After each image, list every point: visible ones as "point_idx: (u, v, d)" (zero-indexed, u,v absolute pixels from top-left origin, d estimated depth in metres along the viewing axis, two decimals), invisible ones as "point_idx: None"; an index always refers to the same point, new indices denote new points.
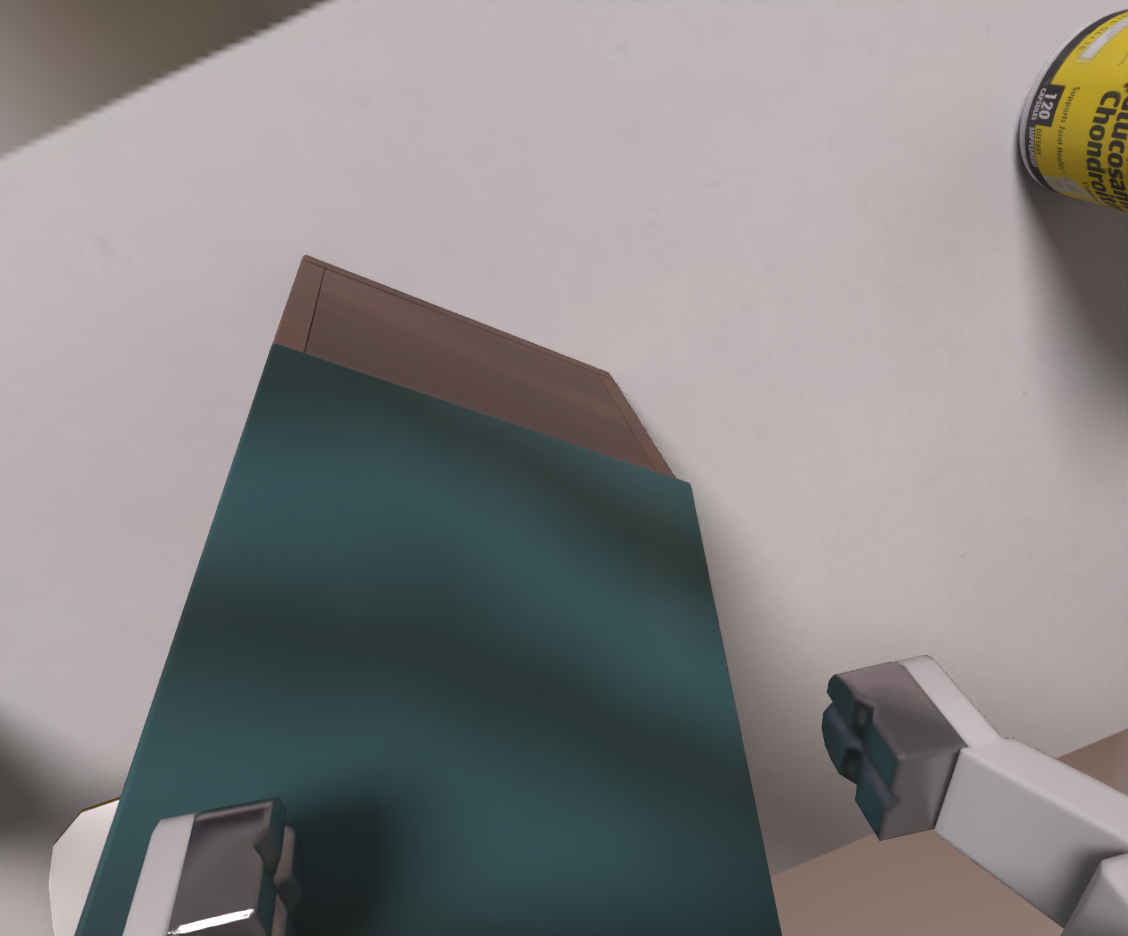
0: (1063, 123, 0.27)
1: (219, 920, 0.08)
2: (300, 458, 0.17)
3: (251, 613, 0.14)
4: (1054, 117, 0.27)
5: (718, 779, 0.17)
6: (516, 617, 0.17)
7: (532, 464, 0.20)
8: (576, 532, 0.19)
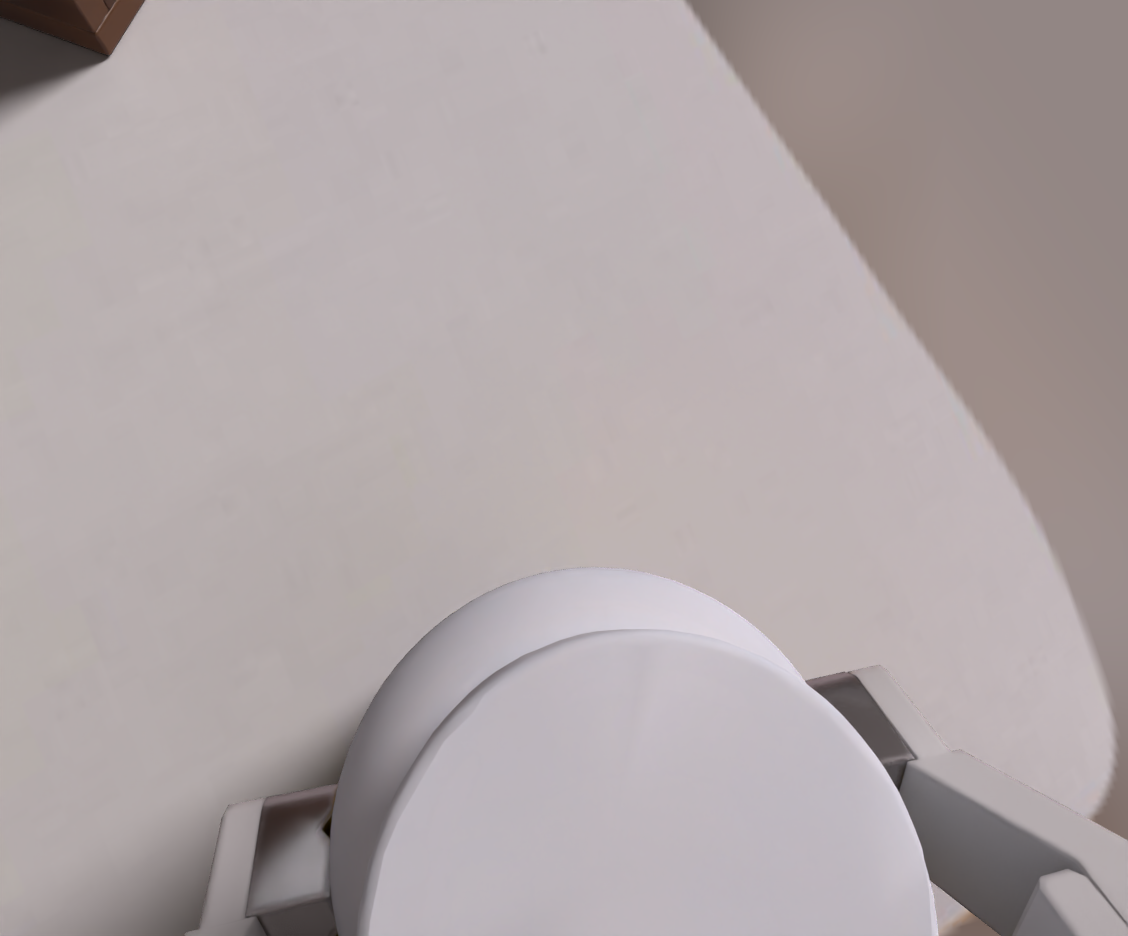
0: None
1: (295, 902, 0.09)
2: None
3: None
4: None
5: None
6: None
7: None
8: None
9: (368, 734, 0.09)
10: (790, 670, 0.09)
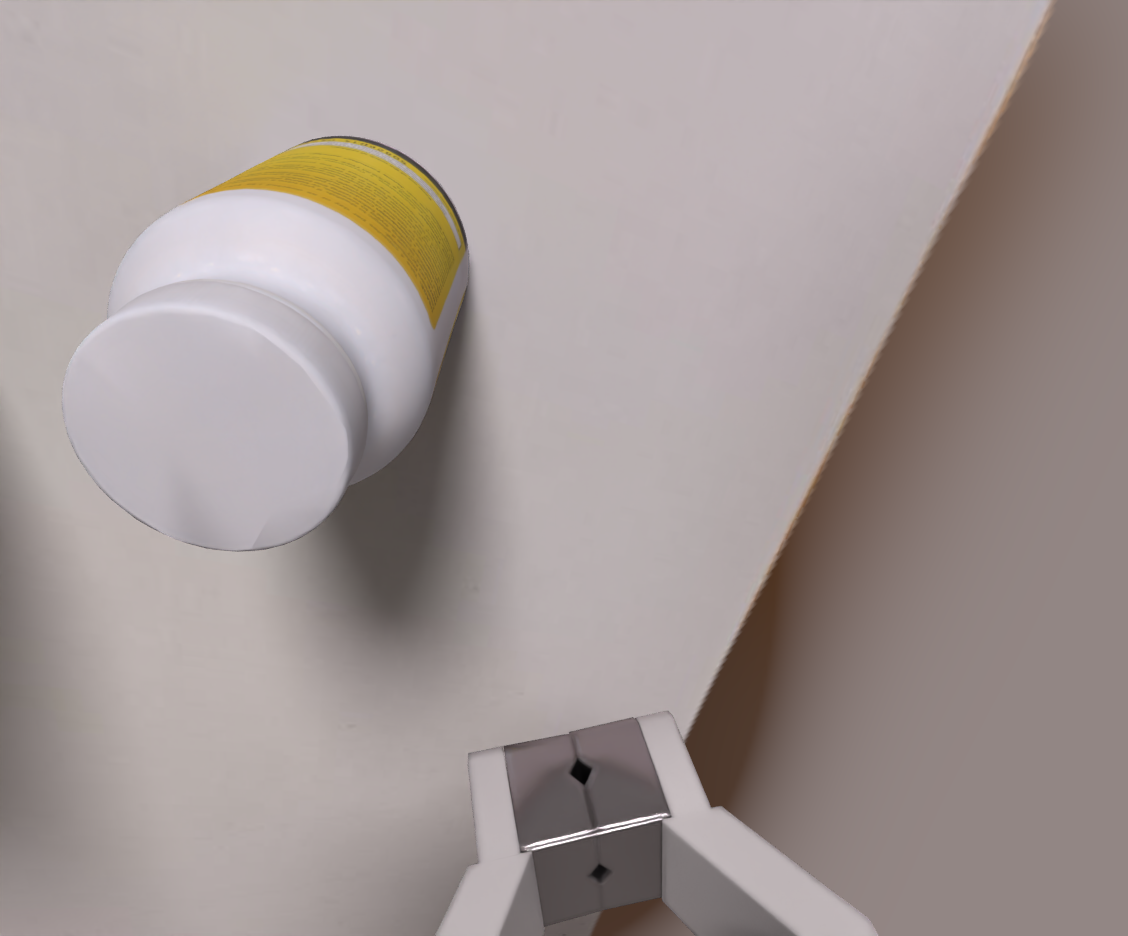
0: None
1: (564, 839, 0.09)
2: None
3: None
4: None
5: None
6: None
7: None
8: None
9: None
10: (241, 213, 0.13)
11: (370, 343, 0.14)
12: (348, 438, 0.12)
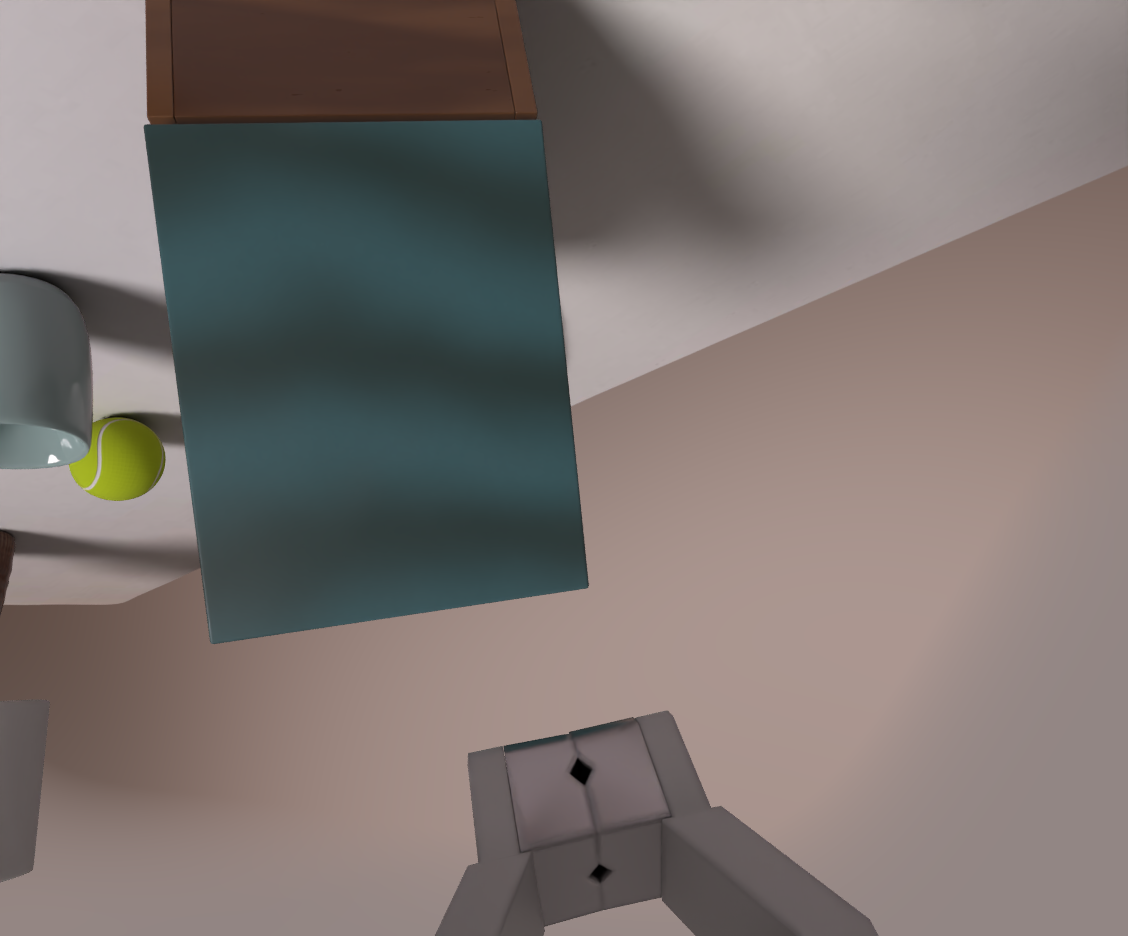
0: None
1: (564, 839, 0.09)
2: (201, 233, 0.23)
3: (211, 359, 0.24)
4: None
5: (540, 385, 0.26)
6: (383, 309, 0.25)
7: (382, 163, 0.25)
8: (426, 218, 0.25)
9: None
10: None
11: None
12: None
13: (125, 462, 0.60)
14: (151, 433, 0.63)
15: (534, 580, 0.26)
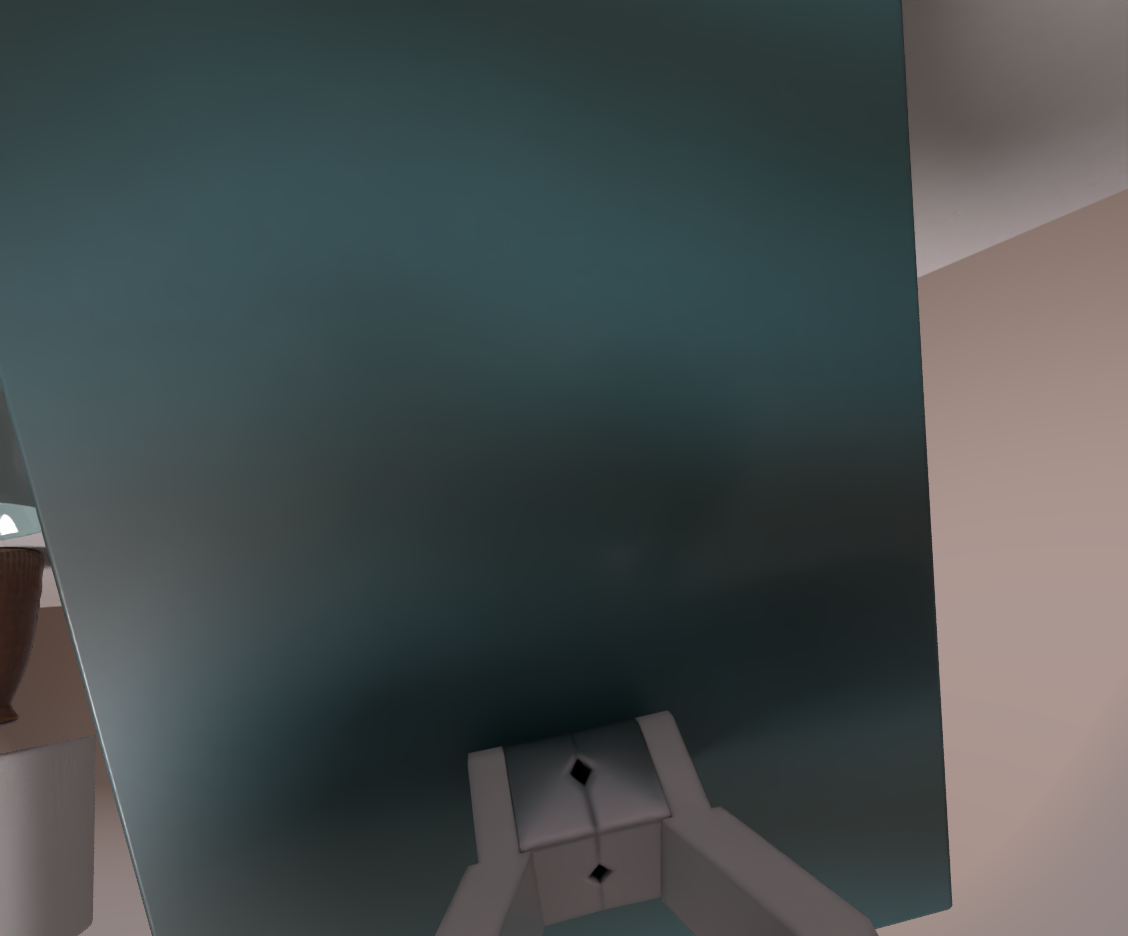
0: None
1: (564, 839, 0.09)
2: (68, 214, 0.09)
3: (131, 524, 0.10)
4: None
5: (873, 514, 0.12)
6: (527, 372, 0.10)
7: None
8: (620, 140, 0.10)
9: None
10: None
11: None
12: None
13: None
14: None
15: None
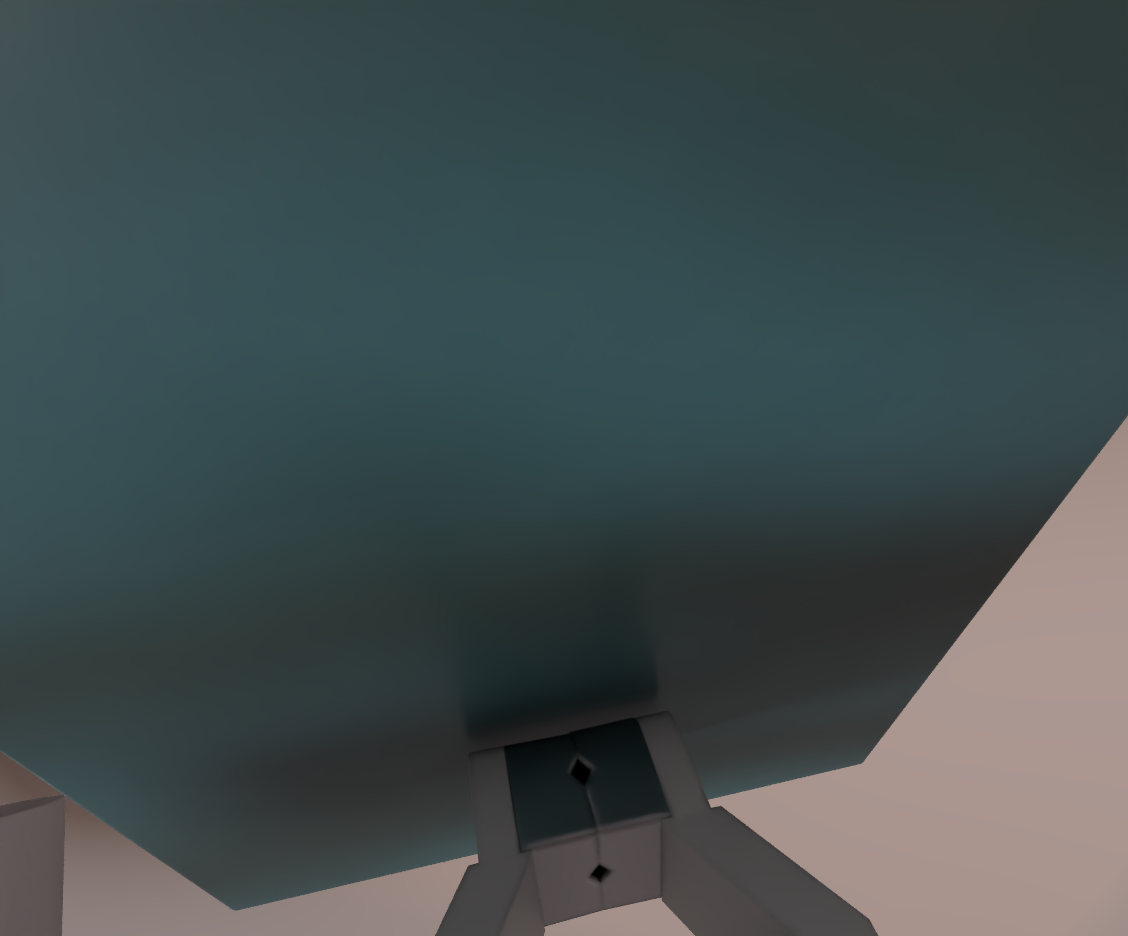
0: None
1: (564, 839, 0.09)
2: None
3: (34, 669, 0.07)
4: None
5: (954, 573, 0.10)
6: (590, 494, 0.07)
7: None
8: (842, 177, 0.05)
9: None
10: None
11: None
12: None
13: None
14: None
15: (782, 775, 0.15)
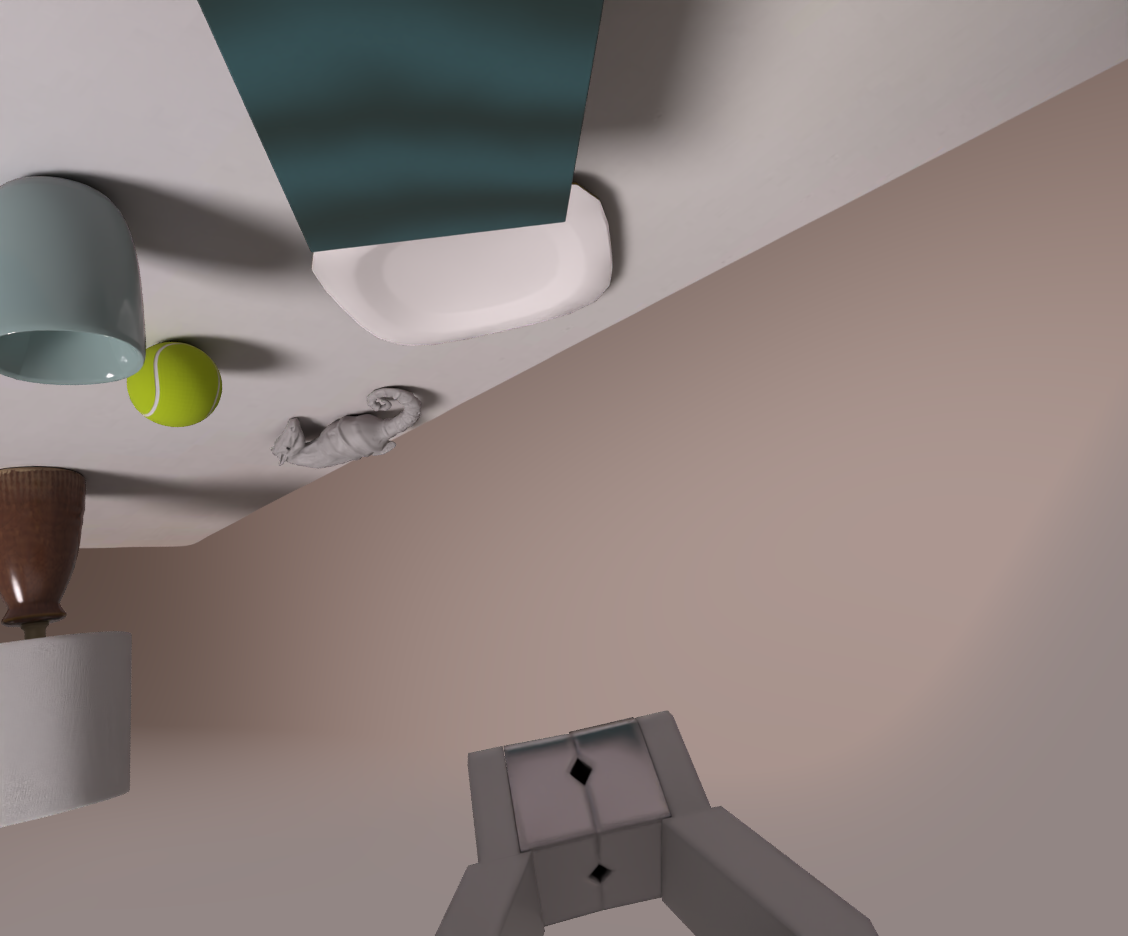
0: None
1: (564, 839, 0.09)
2: (257, 38, 0.24)
3: (284, 123, 0.27)
4: None
5: (559, 126, 0.31)
6: (431, 85, 0.27)
7: None
8: (477, 16, 0.24)
9: None
10: None
11: None
12: None
13: (182, 386, 0.59)
14: (206, 356, 0.62)
15: (528, 221, 0.37)
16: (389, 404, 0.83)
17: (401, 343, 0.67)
